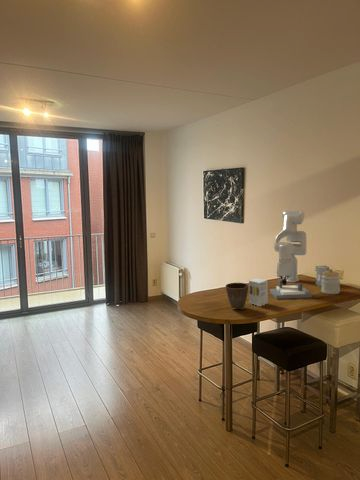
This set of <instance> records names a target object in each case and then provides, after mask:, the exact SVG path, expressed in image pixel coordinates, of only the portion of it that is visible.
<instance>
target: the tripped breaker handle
mask: <svg viewBox="0 0 360 480" xmlns="http://www.w3.org/2000/svg"><path fill="white" fill-rule="evenodd" d="M277 286H278V287H280V288H282V286H283V284H282V279H277Z"/></svg>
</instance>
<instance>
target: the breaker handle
mask: <svg viewBox="0 0 360 480" xmlns="http://www.w3.org/2000/svg"><path fill="white" fill-rule="evenodd" d="M297 286H298V290H300V291H302V287H303V283H302V282H299V281H298V282H297Z"/></svg>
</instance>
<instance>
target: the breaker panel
mask: <svg viewBox="0 0 360 480" xmlns="http://www.w3.org/2000/svg"><path fill="white" fill-rule="evenodd" d="M275 287H276V288H269V293H270V294H271V295H272V296H273V297H274V299H276V300H285V299H301V298H302V299H303V298H304V299H306V298H313V293H312V292H310V291H309V290H307V288H305V287H303V286H302V291H300V290H298V284H296V285H282V288H280V287H278V285H276V286H275Z"/></svg>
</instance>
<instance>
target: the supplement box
mask: <svg viewBox="0 0 360 480" xmlns="http://www.w3.org/2000/svg"><path fill="white" fill-rule="evenodd" d="M268 282H269V281H268V279H262V278H258V277H257V278H253V279H250V280H249V281H248V304H249V303H251V304H250V305H252V304H254V305H253V306H255V305H257V306H256V307H259V306H260V307H262V305H263V306H265V304H266V305H268V303H269V302H268V300H269V297H268V295H269V293H268V287H269V286H268Z"/></svg>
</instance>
